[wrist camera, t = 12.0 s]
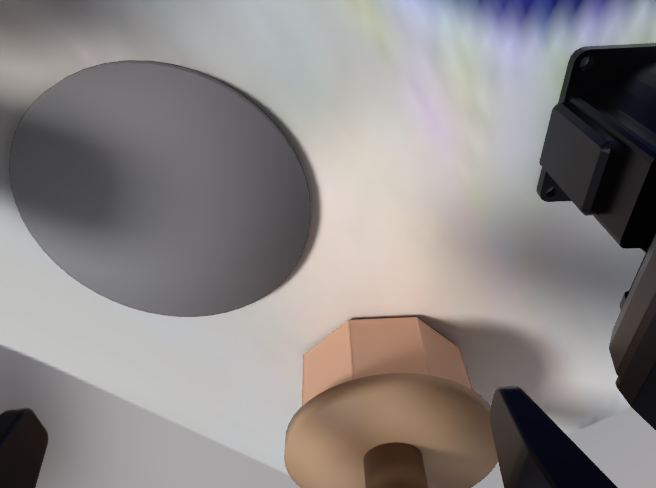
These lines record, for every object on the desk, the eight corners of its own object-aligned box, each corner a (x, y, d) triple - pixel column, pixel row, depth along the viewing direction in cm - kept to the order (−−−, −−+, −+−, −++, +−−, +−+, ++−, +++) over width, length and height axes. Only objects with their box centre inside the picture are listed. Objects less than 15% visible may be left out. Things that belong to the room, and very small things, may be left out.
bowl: (464, 311, 26) (489, 382, 22) (446, 410, 31) (464, 481, 27) (299, 318, 26) (297, 390, 22) (310, 415, 31) (309, 487, 27)
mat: (298, 52, 18) (298, 55, 17) (317, 304, 25) (317, 311, 25) (-44, 68, 18) (-52, 72, 17) (78, 315, 25) (74, 322, 25)
